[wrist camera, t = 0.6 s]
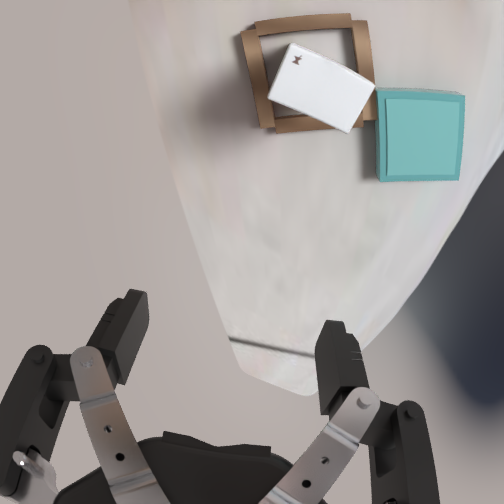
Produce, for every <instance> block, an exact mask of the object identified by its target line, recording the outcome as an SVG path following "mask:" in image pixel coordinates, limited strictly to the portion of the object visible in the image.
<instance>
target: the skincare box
mask: <svg viewBox="0 0 504 504" xmlns="http://www.w3.org/2000/svg"><path fill="white" fill-rule="evenodd" d="M374 88H375V85H374V84H373V83H372V82H370V81H369V80H367V79H366V78H364V77H363V76H361V75H359V74H358V73H356V72H354V71H352V70H351V69H349V68H347V67H346V66H344V65H342V64H340V63H338V62H336V61H334V60H332V59H330V58H328V57H326V56H324V55H322V54H319V53H317V52H315V51H313V50H310V49H308V48H305V47H303V46H300V45H298V44H295V43H291V44H289V46H288V48H287V50H286V53H285V55H284V57H283V60H282V62H281V64H280V67H279V69H278V71H277V74H276V76H275V78H274V81H273V83H272V86H271V88H270V91H269V93H268V96H267V98H268V99H269V100H272V101H274V102H277V103H279V104H282V105H284V106H286V107H288V108H291V109H293V110H296V111H298V112H300V113H303V114H305V115H308V116H310V117H312V118H315V119H317V120H319V121H321V122H324V123H326V124H328V125H330V126H332V127H334V128H336V129H338V130H340V131H342V132H344V133H346V134H348V133H349V132H350V130H351V128H352V127H353V125H354V123H355V121H356V120H357V118H358V116H359V114H360V113H361V111H362V109H363V107H364V106H365V104H366V102H367V100H368V99H369V97H370V95H371V93H372V91H373V90H374Z"/></svg>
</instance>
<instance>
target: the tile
mask: <svg viewBox="0 0 504 504" xmlns="http://www.w3.org/2000/svg"><path fill="white" fill-rule="evenodd" d="M375 91H376V105H377V120H375V136H376V175H377V177H378V179H379V181H380V182H390V181H437V180H459V174H460V166H461V157H462V147H463V134H464V115H465V96H464V95H462V94H460V93H458V92H452V91H442V90H430V89H413V88H375Z"/></svg>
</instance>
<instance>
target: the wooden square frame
mask: <svg viewBox="0 0 504 504" xmlns="http://www.w3.org/2000/svg"><path fill="white" fill-rule="evenodd" d="M255 27H256V29H252V30H246V31H241V32H240V33H241V37H242V42H243V46H244V51H245V55H246V60H247V65H248V69H249V74H250V79H251V84H252V88H253V93H254V98H255V103H256V108H257V113H258V118H259V123H260V128H261V129H262V128H270V127H275V129H276V134H278V133H287V132H297V131H308V130H320V129H335V128H334V127H332V126H330V125H328V124H326V123H324V122H321V121H319V120H317V119H315V118H312V117H310V116H308V115H305V114H300V115H290V116H281V117H275V116H274V110H273V105H272V100H269V99H268V98H267V96H268V93H269V91H270V89H269V83H268V78H267V73H266V68H265V63H264V58H263V53H262V48H261V44H260V39H259V36H262V35H269V34H276V33H284V32H292V31H302V30H315V29H333V28H351V33H352V40H353V46H354V54H355V61H356V69H357V73H358V74H359V75H361V76H363V77H364V78H366V79H367V80H369V81H370V82H372V83H373V84H374V85H375V79H374V69H373V60H372V52H371V44H370V37H369V30H368V24H367V21H364V20H351V14H350V13H346V14H319V15H305V16H294V17H285V18H277V19H270V20H263V21H257V22H255ZM363 120H377V105H376V91H375V88H374V90H373V91H372V93H371V95H370V97H369V99H368V100H367V102H366V104H365V106H364V107H363V109H362V111H361V113H360V114H359V116H358V118H357V120H356V121H355V123H354V125H353V127H352V128H355V127H364V125H363Z"/></svg>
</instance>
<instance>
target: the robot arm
mask: <svg viewBox="0 0 504 504" xmlns="http://www.w3.org/2000/svg"><path fill="white" fill-rule="evenodd" d="M148 324H149V310H148V299H147V293H146V292H144V291H139V290H134V289H129V291H128V292H127V294H126V296H125V298H124V299H121V298H117V299H116V300H114V301H113V302H112V303H110V305H109V306H108V307H107V309H106V311H105V314H103V316H102V318H101V321H99V323H98V325H97V327H96V328H95V330H94V332H93V334H92V336H91V337H90V339H89V341H88V343H87V345H86V346H83V347H80V348H78V349H76V350H75V351H74V352H73V353H72V354H53V353H52V351H51V350H50V348H48V347H47V346H45V345H36V346H33V347H32V348H30V349H29V350H28V351H27V352H26V354H25V356H24V358H23V359H22V362H21V363H20V365H19V367H18V369H17V371H16V373H15V375H14V377H13V379H12V381H11V383H10V385H9V387H8V389H7V391H6V393H5V395H4V397H3V399H2V401H1V404H0V496H2V497H4V498H6V499H8V500H10V501H12V502H15V503H18V504H327V503H326V502H325V500H323V497H324V496H325V494H326V493H327V492H328V490H329V489H330V488H331V486H332V485H333V484H334V482H335V481H336V480H337V478H338V477H339V475H340V474H341V472H342V471H343V470H344V468H345V467H346V465H347V464H348V462H349V461H350V459H351V458H352V457H353V455H354V454H355V452H356V450H357V449H358V447H359V444H358V443H362V444H365V445H368V447H369V459H370V472H371V489H372V504H440V500H439V491H438V484H437V477H436V470H435V465H434V459H433V453H432V448H431V443H430V438H429V433H428V428H427V424H426V419H425V415H424V411H423V409H422V408H421V406H420V405H418V404H417V403H416V402H414V401H409V400H408V401H404V402H402V403H400V405H399V406H396V405H393V404H389V403H386V402H383V401H381V400H379V397H378V396H377V394H376V393H375V392H374V391H372V390H371V389H370V388H369V384H368V380H367V375H366V371H365V367H364V363H363V361H362V355H361V350H360V347H359V343H358V341H357V340H356V338H355V337H354V336H353V334H349V333H346V329H345V325H344V322H342V321H333V320H326V322H325V323H324V326H323V328H322V331H321V333H320V335H319V338H318V340H317V342H316V346H315V362H316V371H317V380H318V390H319V400H320V411H321V415H329V422H328V423H327V425H326V426H325V427H324V429H323V430H322V431H321V433H320V434H319V435H318V436H317V438H316V439H315V440H314V441H313V442H312V444H311V445H310V446H309V447H308V449H307V450H306V451H305V452H304V453H303V455H302V456H301V457H300V458H299V459H298V460H297V461H296V462H295V464H294V465H293V464H291V463H290V462H289V461H287V460H286V459H284V458H283V457H281V456H279V455H276V454H274V453H271V447H270V446H260V445H249V444H241V445H232V446H221V447H217V446H213V445H210V444H208V443H205V442H203V441H200V440H198V439H195V438H193V437H191V436H187V435H181V434H176V433H172V432H167V431H164V432H163V436H162V437H152V438H148V439H144V440H142V441H139V442H136V440H135V438H134V436H133V434H132V431H131V429H130V427H129V425H128V422H127V420H126V418H125V415H124V413H123V411H122V408H121V406H120V404H119V401H118V399H117V396H116V394H115V391H114V390H115V388H116V385H117V383H119V384H122V385H125V383H126V381H127V378H128V376H129V373H130V371H131V368H132V366H133V363H134V361H135V358H136V355H137V353H138V350H139V348H140V346H141V343H142V341H143V338H144V336H145V333H146V331H147V328H148ZM70 401H80V402H81V403H80V409H81V413H82V416H83V419H84V422H85V425H86V428H87V431H88V434H89V437H90V439H91V442H92V445H93V447H94V450H95V452H96V455H97V458H98V460H99V463H100V465H101V466H100V467H99V468H97V469H96V470H94V471H92V472H91V473H89V474H87V475H86V476H84V477H82V478H81V479H79V480H77V481H76V482H74V483H72V484H71V485H69V486H67V487H66V488H64V489H62V490H61V491H60V492H58V490H57V488H56V473H55V470H54V468H53V466H52V465H51V464H50V463H49V461H50V458H51V454H52V451H53V448H54V445H55V442H56V439H57V436H58V433H59V430H60V427H61V424H62V421H63V418H64V416H65V413H66V410H67V407H68V405H69V402H70Z"/></svg>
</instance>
